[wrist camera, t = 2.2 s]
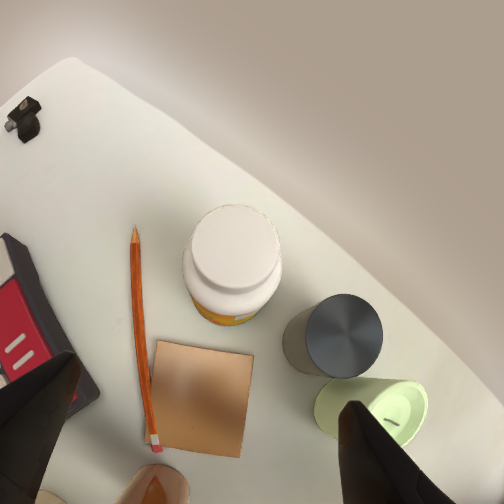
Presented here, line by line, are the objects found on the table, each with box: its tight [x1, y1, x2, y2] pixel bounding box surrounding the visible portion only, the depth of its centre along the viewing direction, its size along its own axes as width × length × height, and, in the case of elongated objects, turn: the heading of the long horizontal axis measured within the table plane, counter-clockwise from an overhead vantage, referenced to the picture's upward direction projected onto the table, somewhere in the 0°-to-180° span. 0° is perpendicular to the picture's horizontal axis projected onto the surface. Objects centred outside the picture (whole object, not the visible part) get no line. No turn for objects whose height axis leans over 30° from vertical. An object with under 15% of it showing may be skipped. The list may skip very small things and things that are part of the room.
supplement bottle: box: [182, 205, 282, 326], centre depth 18 cm, size 5×5×10 cm
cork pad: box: [145, 340, 254, 458], centre depth 19 cm, size 8×7×1 cm
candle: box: [314, 377, 428, 448], centre depth 16 cm, size 5×5×8 cm
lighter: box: [4, 96, 41, 143], centre depth 25 cm, size 8×2×5 cm
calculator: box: [0, 233, 100, 419], centre depth 16 cm, size 11×4×15 cm
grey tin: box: [283, 294, 383, 379], centre depth 19 cm, size 5×5×6 cm
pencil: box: [130, 226, 163, 453], centre depth 20 cm, size 1×18×1 cm, turn 8°
